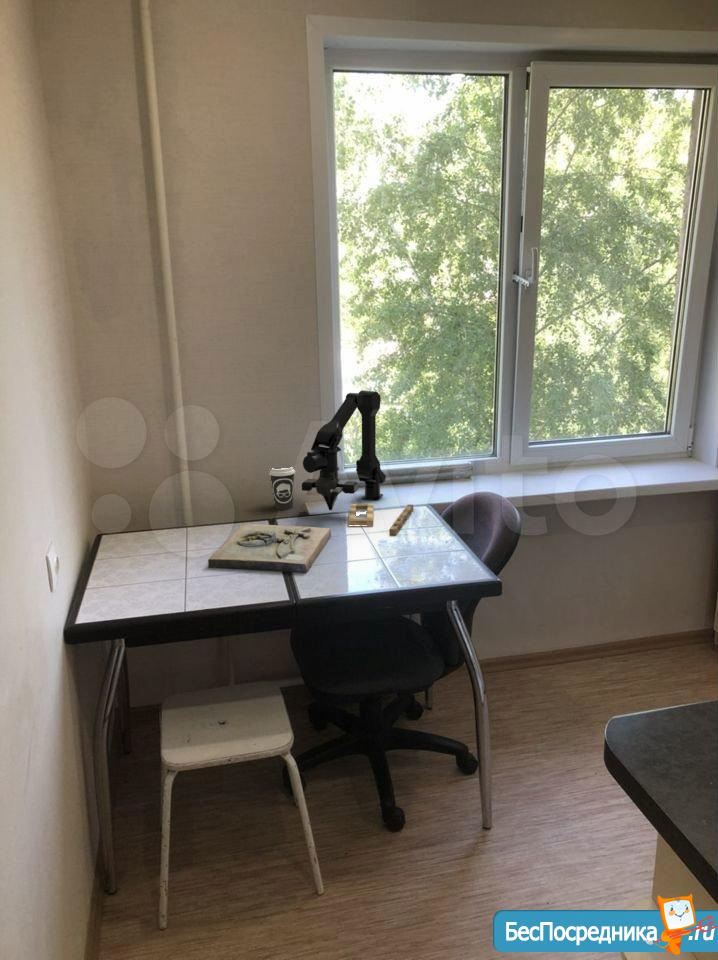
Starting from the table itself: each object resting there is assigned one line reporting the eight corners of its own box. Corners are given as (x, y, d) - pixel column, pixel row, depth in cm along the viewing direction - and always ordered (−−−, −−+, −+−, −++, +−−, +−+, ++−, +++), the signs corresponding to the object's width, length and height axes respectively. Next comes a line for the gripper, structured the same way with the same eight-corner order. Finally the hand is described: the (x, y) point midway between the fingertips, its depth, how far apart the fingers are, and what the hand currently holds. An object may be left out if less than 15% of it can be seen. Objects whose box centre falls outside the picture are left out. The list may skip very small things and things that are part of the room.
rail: (407, 509, 256) (407, 502, 255) (413, 510, 255) (413, 502, 255) (389, 535, 232) (389, 526, 231) (395, 535, 232) (395, 527, 231)
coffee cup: (302, 505, 264) (300, 465, 260) (286, 513, 256) (283, 471, 252) (281, 501, 269) (279, 462, 265) (264, 509, 261) (262, 468, 257)
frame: (350, 509, 258) (350, 504, 257) (373, 509, 258) (373, 503, 257) (348, 526, 241) (348, 520, 240) (373, 526, 240) (372, 520, 240)
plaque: (241, 513, 236) (331, 516, 230) (243, 534, 238) (332, 537, 232) (203, 548, 208) (305, 553, 202) (206, 571, 210) (306, 576, 204)
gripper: (294, 470, 243) (296, 515, 247) (348, 473, 238) (349, 519, 242) (306, 462, 253) (308, 505, 257) (358, 465, 248) (359, 509, 252)
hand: (330, 510), depth 252 cm, fingers closed
